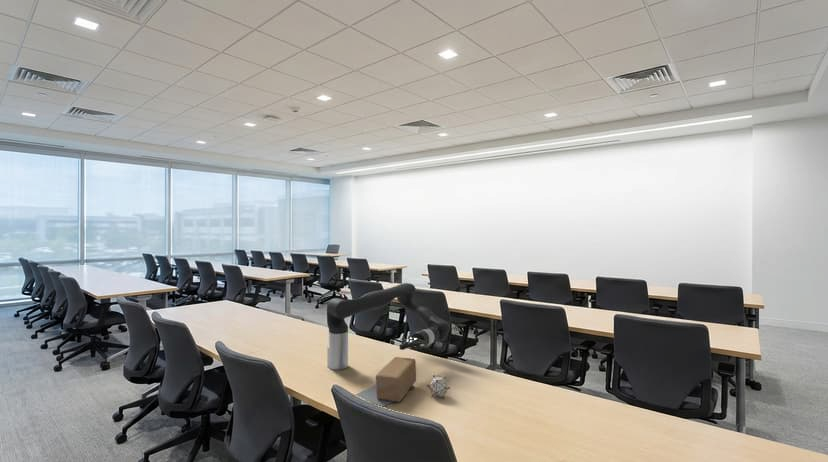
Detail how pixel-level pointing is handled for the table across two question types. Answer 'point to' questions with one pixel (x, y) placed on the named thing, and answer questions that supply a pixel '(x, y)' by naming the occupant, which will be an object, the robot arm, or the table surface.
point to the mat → (371, 396)
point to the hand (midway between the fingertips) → (401, 347)
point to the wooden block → (396, 379)
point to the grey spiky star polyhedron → (438, 387)
